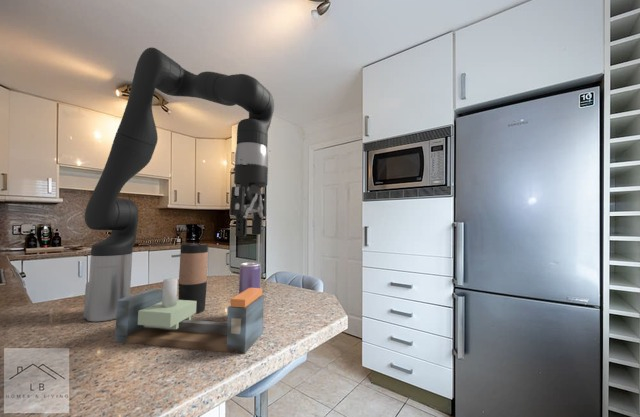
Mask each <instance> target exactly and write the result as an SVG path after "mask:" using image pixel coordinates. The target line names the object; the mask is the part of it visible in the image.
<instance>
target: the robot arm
mask: <svg viewBox="0 0 640 417" xmlns="http://www.w3.org/2000/svg"><path fill="white" fill-rule="evenodd" d="M156 90H158V91H160V92H161V93H163V94H166V95H167V96H172V97H182V98H183V97H184V98H185V97H186V98H197V99H202V100H205V101H209V102H212V103H216V104H218V105H219V104H220V105H223V106H227V107H232V106H235V105H237V106H239V107H241V109H244V110H245V111H247V113H248V118H244V119H241V120H240V121H239V122H238V124H237V127H236V128H237V130H236V148H235V154H234V170H233V171H234V174H233V176H234V177H233V183H234V185H235V186H232V187H231V193H230V205H229V207H230V208H229V210H230V211H229V214H230V216H233V218H234V219H235V236H236V237H246V236H247V233H248V232H247V231H248V219H247V218H248V216H249V213H250V214H251V217H252V220H251V234H252V235H261V234H262V231H263V230H262V228H263V226H262V225H263V224H262V223H263V221H262V220H263V219H264V218H265V217H266V216H267V194H266V193H262V191H261V189H262V188H266V187H267V186H268V180H269V179H268V176H269V172H268V171H269V153H268V136H269V135H268V134H269V132H268V131H269V129H270V126H271V124H272V119H273V116H274V115H273V114H274V111H275V103H274V102H275V100H274V98H273V95H272V93H271V92H270V91H269V89H267V88H266V87H265V85H263V84H262V83H261V82H260V81H258V79H256V78H255V77H253V76H251V75H249V74H245V73H238V74H236V73H235V74H230V75H228V74H225V73H224V74H223V73H219V72H216V71H215V72H214V71H202V72H200V73H198V74H195V73H192V72H190V71H188V70H186V69H185V68H183V67H182V66H181V64H179V63H178V62H177V61H175V60H174V59H172V58H171V57H170V56H168V55H166V54H165V53H164V52H162V51H161V50H160V49H158V48H156V47H148V48H146V49H145V50H143V51H142V52H141V54H140V56H139V58H138V60H137V63H136V66H135V70H134V74H133V79H132V82H131V87H130V91H129V95H128V99H127V103H126V106H125V109H124V112H123V115H122V116H121V121H120V123H119V126H118V128H117V130H116V133H115V135H114V138H113V141H112V144H111V148H110V151H109V155H108V157H107V161H105V162H106V163H105V165H104V168H103V170H102V173H101V175H100V177H99V179H98V182H97V183H96V185H95V187H94V190H93V192H92V194H91V195H90V198H89V199H88V202H87V204H86V208H85V210H84V223H85V225H86V227H87V228H89V229H91V230H93V231H110V235H109V236H108V237H107V238H105V239H103V240H102V241H98V242H96V243H94V244H93V245H92V246H91V248H90V259H89V260H90V262H89V275H88V276H89V279H88V282H86V283H85V291H84V306H83V307H84V308H83V319H86V321H88V322H105V321H112V320H116V313H117V300H119V299H123V298H126V297H129V296H131V287H132V286H131V285H132V284H131V281H132V266H133V265H132V264H133V263H132V262H133V250H134V246H135V244H136V240H137V231H138V224H139V209H138V205H137V204H136V202H135V201H133V200H131V199H127V198H118V197H119V195H120V192H121V191H122V189H123V188H124V186H125V184H126V183H128V181H129V180H131V179H132V178H133V177H134V176H135V175H137V174H138V173H140V172H141V171H142V170H143V169H145V168H146V166H148V164H150V162H151V160H152V159H153V158H152V157H153V156H154V153H155V149H156V147H157V144H158V138H159V137H158V130H157V126H156V123H155V118H154V115H153V98H154V94H155V91H156Z"/></svg>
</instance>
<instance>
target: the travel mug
mask: <svg viewBox="0 0 640 417" xmlns="http://www.w3.org/2000/svg"><path fill="white" fill-rule="evenodd" d="M208 252H209V244H208V243H206V244H201V243H198V242H196V243H195V242H193V243H191V242H187V243H181V244H180V253H179V255H180V256H179V270H178V300H190V301H197V303H196V313H195V314H194V315H196V314H198V315H199V314H200V313H203V312H204V311H205V309H206V297H207V285H208V284H207V283H208V256H209V254H208Z"/></svg>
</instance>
